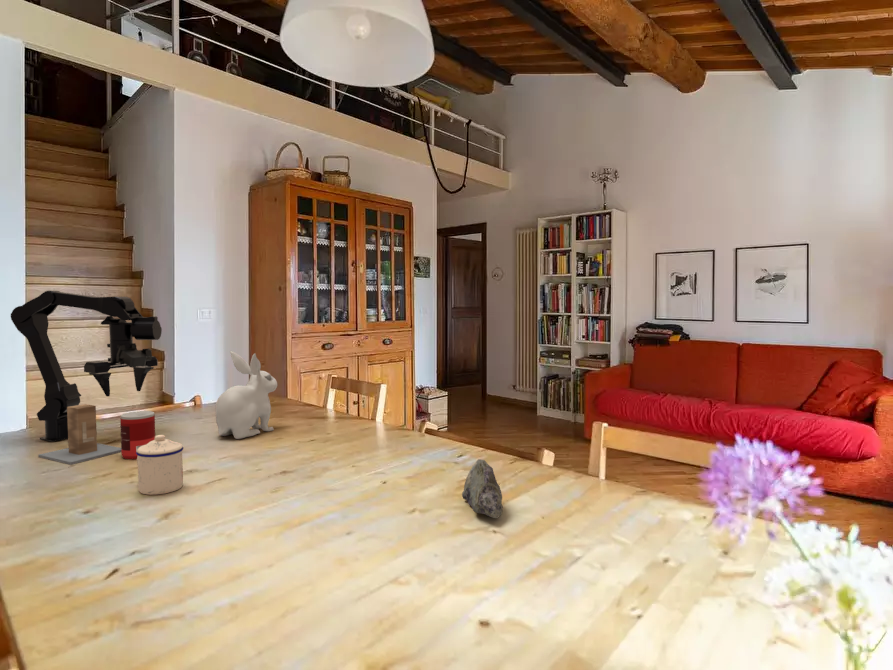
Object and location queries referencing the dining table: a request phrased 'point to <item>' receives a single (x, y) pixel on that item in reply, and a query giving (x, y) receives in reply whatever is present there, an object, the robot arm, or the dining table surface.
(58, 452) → the flat gray square pad
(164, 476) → the lidded ceramic jar
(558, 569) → the dining table surface
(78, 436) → the wooden block
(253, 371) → the rabbit
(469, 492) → the mineral rock
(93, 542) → the dining table surface
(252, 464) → the dining table surface
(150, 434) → the canned food
